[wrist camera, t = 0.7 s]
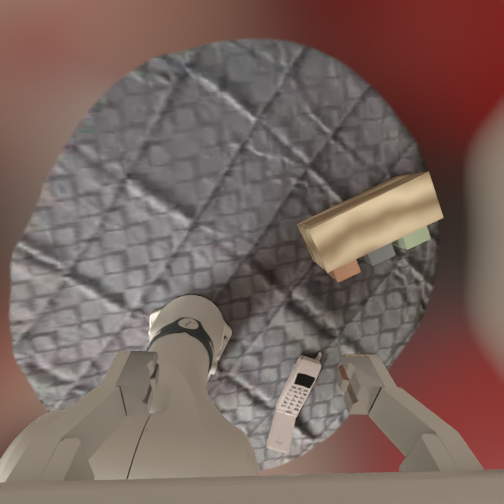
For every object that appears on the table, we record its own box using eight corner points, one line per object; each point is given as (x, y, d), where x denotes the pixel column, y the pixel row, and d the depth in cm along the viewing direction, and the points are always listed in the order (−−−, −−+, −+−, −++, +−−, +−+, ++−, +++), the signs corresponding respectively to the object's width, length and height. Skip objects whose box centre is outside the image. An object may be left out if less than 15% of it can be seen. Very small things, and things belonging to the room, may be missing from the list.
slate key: (377, 248, 59) (395, 255, 52) (357, 258, 59) (372, 266, 52) (366, 220, 57) (384, 223, 51) (345, 230, 58) (360, 234, 51)
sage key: (408, 233, 58) (431, 238, 52) (387, 243, 59) (407, 249, 52) (398, 205, 57) (420, 206, 50) (377, 215, 57) (396, 217, 50)
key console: (408, 214, 58) (443, 217, 48) (312, 260, 59) (327, 272, 49) (395, 176, 56) (428, 171, 46) (296, 224, 57) (308, 229, 47)
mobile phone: (264, 449, 62) (308, 359, 57) (262, 427, 68) (301, 344, 63) (288, 455, 63) (332, 367, 58) (283, 433, 68) (323, 352, 64)
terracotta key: (346, 263, 59) (361, 271, 52) (326, 272, 59) (338, 282, 52) (335, 235, 58) (348, 240, 51) (314, 245, 58) (325, 252, 51)
